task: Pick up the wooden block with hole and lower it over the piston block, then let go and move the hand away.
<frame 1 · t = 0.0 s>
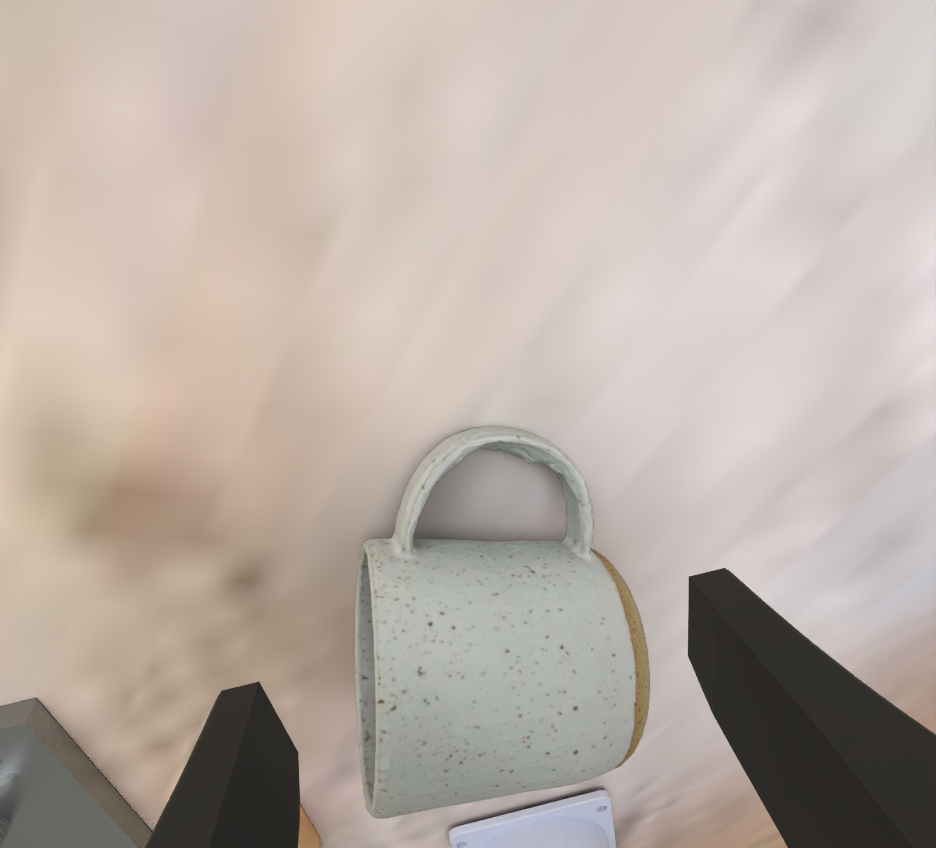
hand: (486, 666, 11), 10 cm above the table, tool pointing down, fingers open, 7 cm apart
ceramic mug: (465, 543, 24), on the table
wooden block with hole: (253, 824, 30), on the table
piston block: (0, 799, 27), on the table
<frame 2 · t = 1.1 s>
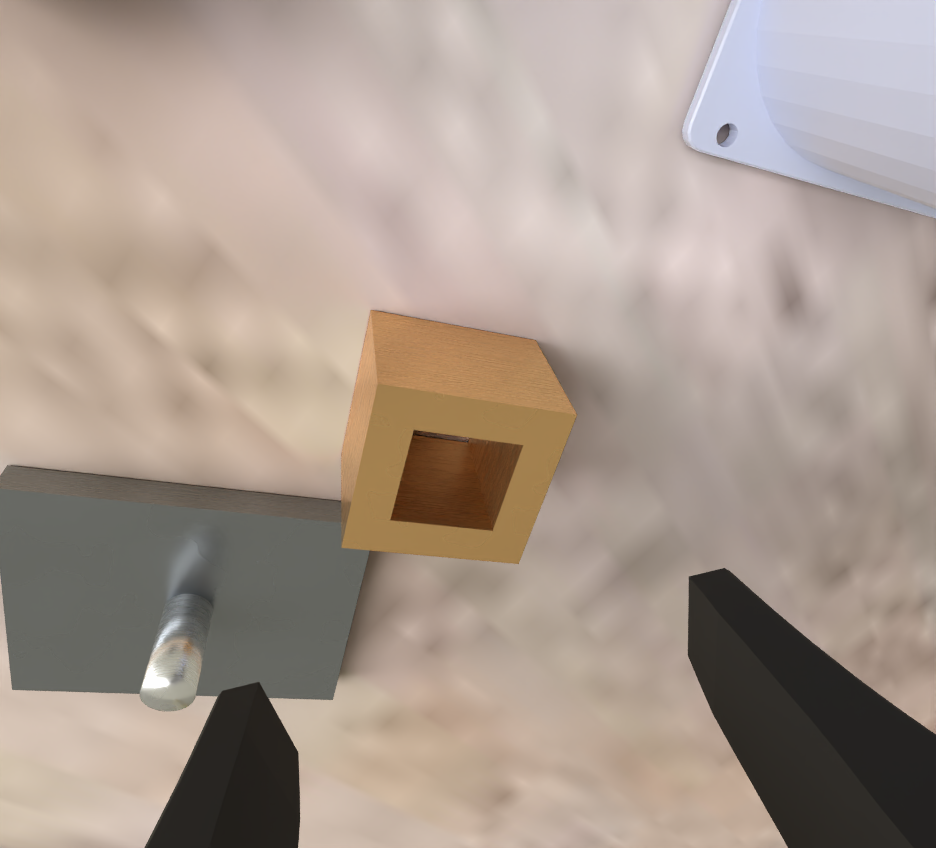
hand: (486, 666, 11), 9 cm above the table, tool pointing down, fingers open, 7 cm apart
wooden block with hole: (435, 398, 19), on the table
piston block: (194, 586, 22), on the table
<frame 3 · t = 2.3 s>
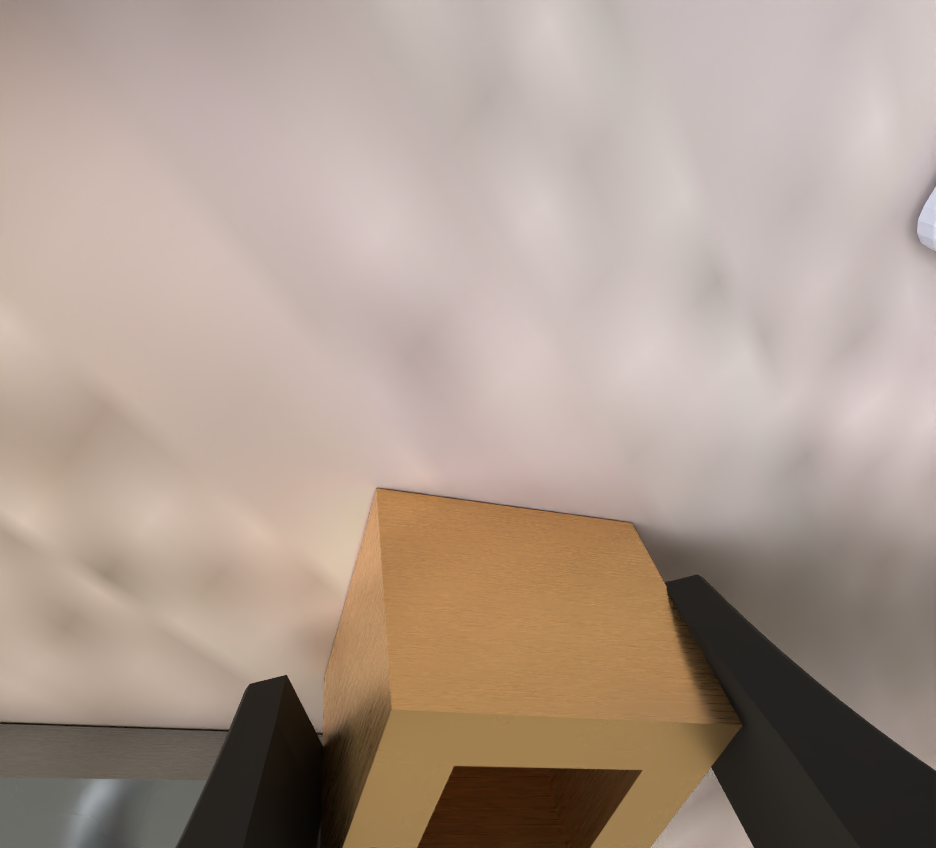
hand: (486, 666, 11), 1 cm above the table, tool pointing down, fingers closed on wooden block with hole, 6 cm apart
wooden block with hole: (472, 603, 13), on the table, touching gripper
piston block: (104, 843, 15), on the table
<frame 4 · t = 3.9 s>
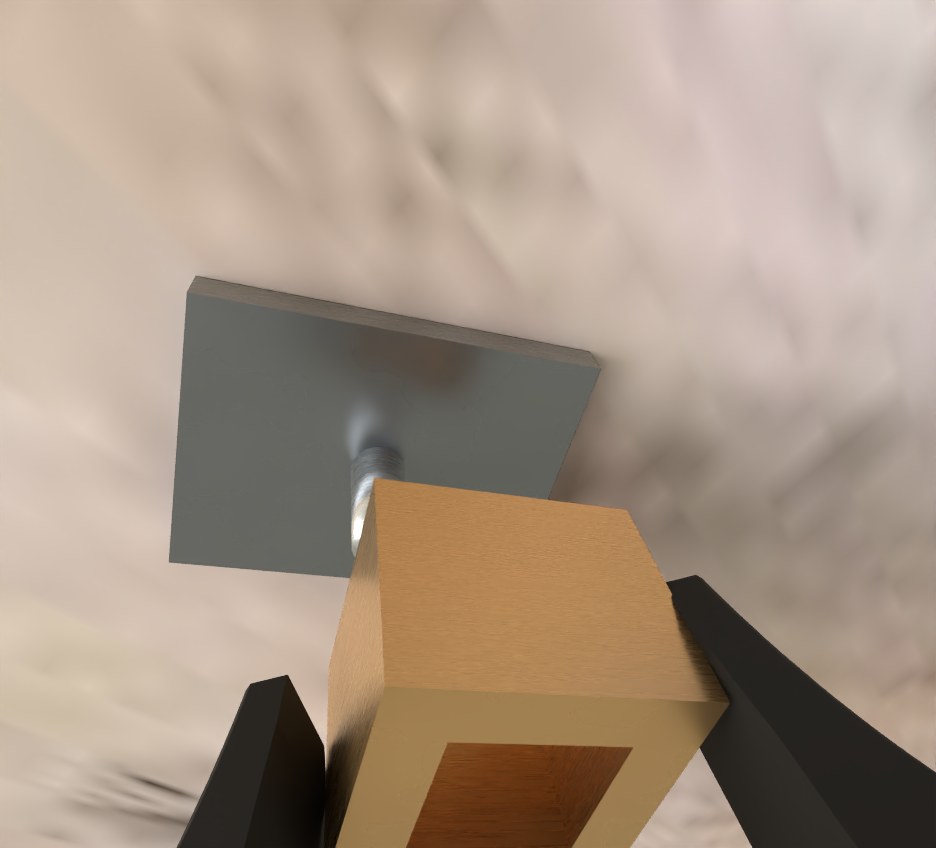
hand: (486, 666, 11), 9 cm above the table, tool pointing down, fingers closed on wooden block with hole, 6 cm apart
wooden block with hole: (472, 590, 13), point 7 cm above the table, touching gripper
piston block: (376, 447, 19), on the table
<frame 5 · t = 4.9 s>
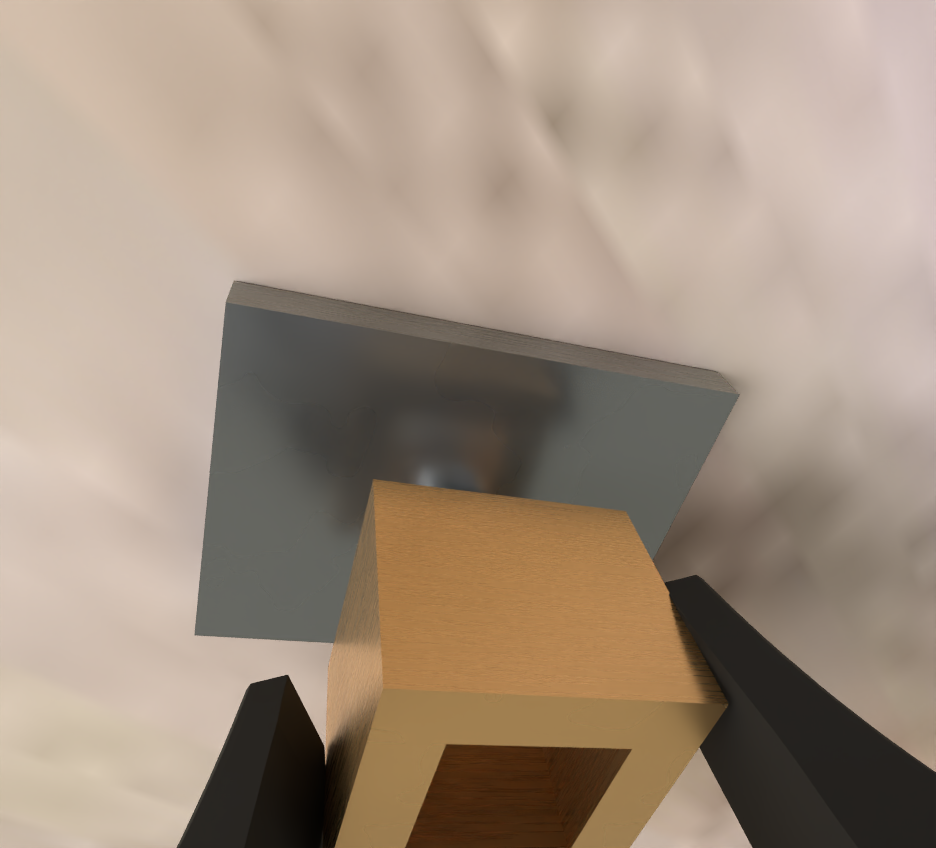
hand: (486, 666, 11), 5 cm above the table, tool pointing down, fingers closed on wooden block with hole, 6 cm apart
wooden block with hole: (470, 592, 13), point 3 cm above the table, touching gripper
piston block: (449, 491, 15), on the table
when the fingers open (4 cm above the table, at t = 5.8 s): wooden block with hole drops 1 cm, resting on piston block.
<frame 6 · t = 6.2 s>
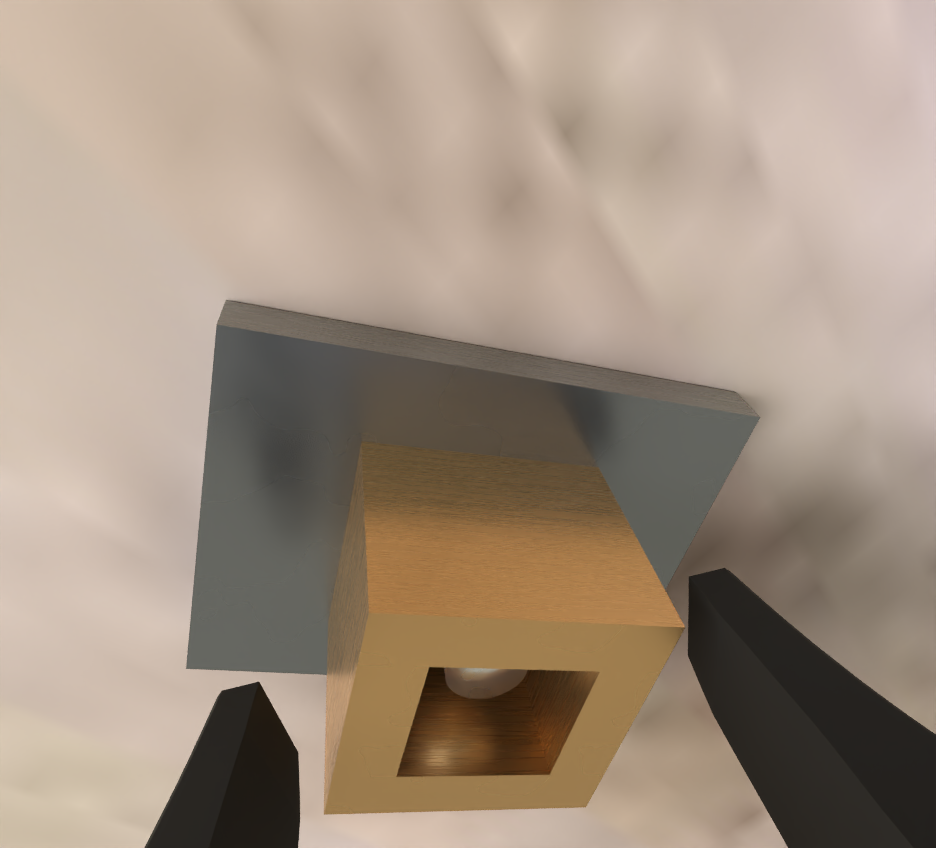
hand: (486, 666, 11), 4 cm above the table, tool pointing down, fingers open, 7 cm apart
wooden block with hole: (457, 548, 14), point 1 cm above the table, touching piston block
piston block: (453, 516, 15), on the table
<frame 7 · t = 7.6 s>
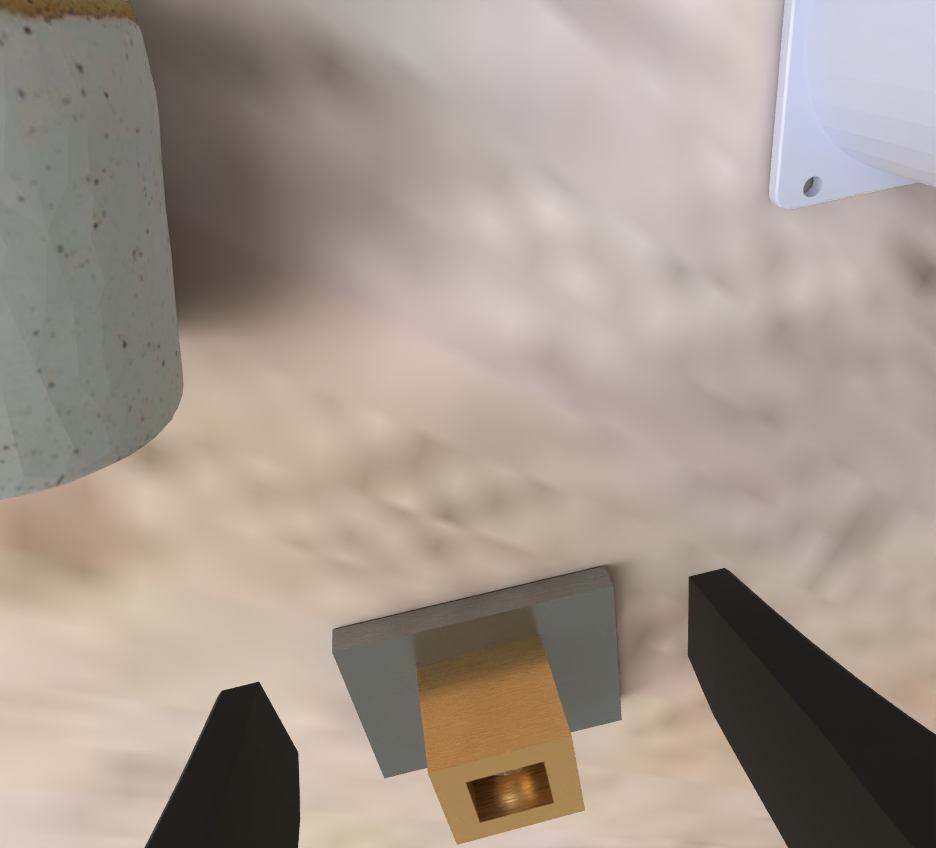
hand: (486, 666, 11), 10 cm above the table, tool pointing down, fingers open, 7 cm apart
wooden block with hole: (488, 689, 26), point 1 cm above the table, touching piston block
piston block: (485, 667, 27), on the table
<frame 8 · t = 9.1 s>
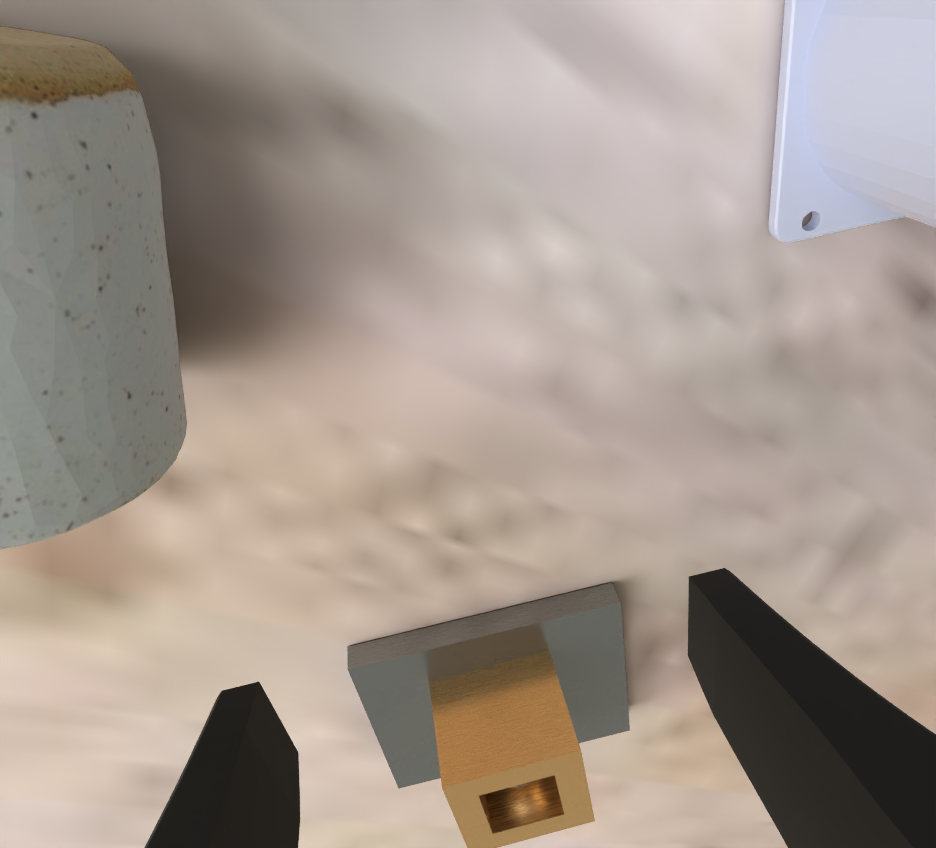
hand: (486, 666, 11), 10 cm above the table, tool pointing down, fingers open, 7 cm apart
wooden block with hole: (499, 702, 26), point 1 cm above the table, touching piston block
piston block: (496, 680, 27), on the table
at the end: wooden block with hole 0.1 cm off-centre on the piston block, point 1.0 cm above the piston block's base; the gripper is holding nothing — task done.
